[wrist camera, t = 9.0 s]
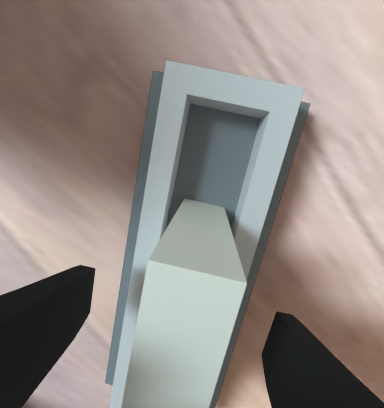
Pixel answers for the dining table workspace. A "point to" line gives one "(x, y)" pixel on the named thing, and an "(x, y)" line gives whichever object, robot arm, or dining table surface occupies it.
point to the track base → (205, 179)
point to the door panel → (185, 311)
